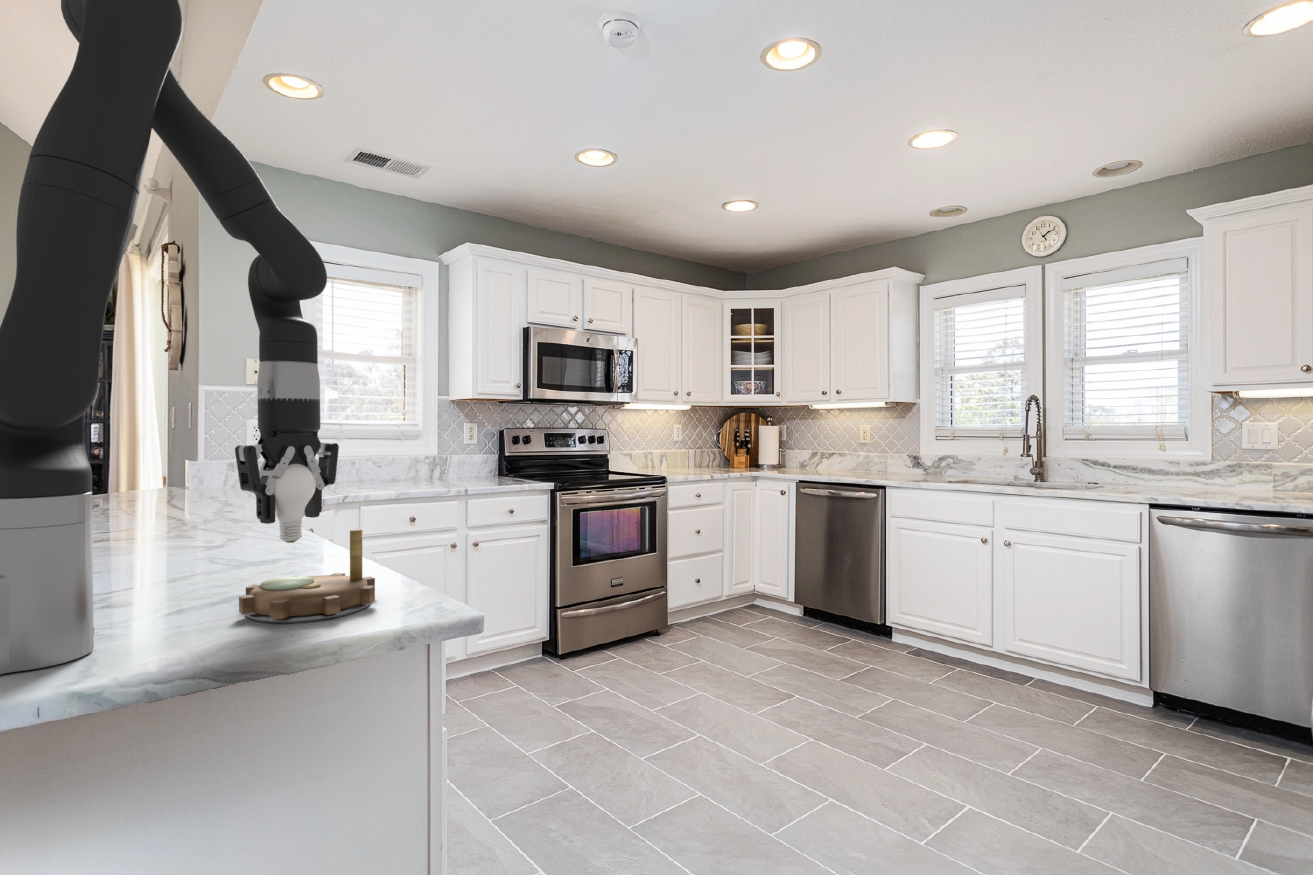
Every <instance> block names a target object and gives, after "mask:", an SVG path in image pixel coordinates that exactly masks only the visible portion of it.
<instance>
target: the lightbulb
mask: <svg viewBox="0 0 1313 875" xmlns="http://www.w3.org/2000/svg"><path fill="white" fill-rule="evenodd" d="M273 470H274V469H271V470H270V471H273ZM268 478H269V477H268ZM268 478H266V481H265V485H266V483H267V480H268ZM315 489H316V481H315V477H314V475H313V473H312V472H311V471H310V470H309V469H308V468H307V467H306V466H304V465H301V464H291V465H288V466H287V469H286V471H285V473H284V475H283V477H282V478H280V479H277V480H276V485H275V491H274V493H273V494H272V495H275V517H276V518H277V520H278V522H279V526H278V527H279V531H280V532H279V539H280V540H281V541H283V542H284V543H286V544H292V543H296V542H297V541H299V540H300V539H301V538H302V537H303V534H302V527H303V526H302V524H303V523H302V521H303V518H304V515H305V508H306V506H307V504H308V503H309V501H310V500H311V498H312V497H313V495H314V492H315Z"/></svg>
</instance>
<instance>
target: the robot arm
mask: <svg viewBox="0 0 1313 875" xmlns="http://www.w3.org/2000/svg"><path fill="white" fill-rule="evenodd" d="M60 10H61V13H62V18H63V20H64V23H65V24H66V27H67V28H68V30H69V32H70V33H71V34H72V36H73V37H74V38H75V40H76V41H77V43H78V49H77V53H76V56H75V57H76V58H75V61H74V62H73V66H72V69H71V71H70V73H69V76H68V78H67V80H66V81H65V83H64V85H63V86H62V88H61V90H60V92H59V94H58V95H57V97H56V99H55V100H54V102H53V103H52V105H51V108H50V109H49V112H48V113H47V115H46V116H45V119H44V121H43V122H42V124H41V127H40V129H39V131H38V132H37V133H38V134H37V135H36V137H35V140H34V141H33V142H34V143H33V145H32V147H31V150H30V153H29V156H28V161H27V165H26V169H25V173H24V177H23V180H22V184H21V188H20V195H19V199H18V200H19V201H18V206H17V216H16V234H15V235H16V237H15V238H16V240H15V241H16V272H15V278H14V280H15V281H14V284H13V289H12V292H11V296H10V299H9V302H8V305H7V307H6V310H5V313H4V316H3V318H2V322H1V324H0V675H4V674H8V673H13V672H23V671H30V670H36V669H42V668H48V667H52V666H56V665H59V664H60V665H61V664H64V663H67V662H71V661H74V660H76V659H80V658H81V657H84V656H86V655H88V654H90V653H91V652H92V651H94V648H95V646H94V645H95V644H94V643H95V642H94V640H95V638H94V637H95V636H94V635H95V627H94V626H95V625H94V565H93V564H94V562H93V561H94V560H93V559H94V558H93V557H94V556H93V553H94V551H93V542H94V541H93V471H92V470H93V469H92V466H91V464H90V462H89V459H88V454H87V450H86V449H87V448H86V436H85V434H86V433H85V413H86V412H87V411H88V410H89V409H90V407H91V406H92V404H93V403H94V401H95V400H96V397H97V393H98V388H99V381H100V380H99V379H100V369H101V367H100V365H101V356H102V355H101V354H102V345H103V344H102V343H103V334H104V326H105V317H106V312H107V307H108V304H109V303H108V302H109V299H110V295H111V293H112V289H113V287H114V284H115V281H116V280H117V279H116V278H117V275H118V273H119V270H120V267H121V264H122V262H123V261H122V260H123V257H124V254H125V250H126V247H127V244H128V240H129V237H130V233H131V230H132V227H133V223H134V219H135V215H136V210H137V206H138V202H139V198H140V197H139V196H140V193H141V186H142V181H143V179H142V178H143V175H144V171H145V164H146V162H147V156H148V151H149V146H150V140H151V135H152V130H153V131H154V133H155V134H156V135H157V136H158V138H160V140H161V141H162V142H163V143H164V145H165V146H166V148H167V149H168V150H169V151H170V153H171V154H172V155H173V157H175V159H176V160H177V162H178V163H179V165H180V166H181V168H183V170H184V171H185V173H186V174H187V176H188V177H189V179H190V180H191V182H192V183H193V185H194V186H195V187H196V189H197V190H198V192H199V193H200V195H201V196H202V198H203V199H204V201H205V202H206V204H207V205H208V207H209V208H210V210H211V212H212V213H213V215H214V216H215V218H216V219H217V220H218V222H219V223H220V225H221V226H222V228H223V229H224V230H225V231H226V232H227V234H228V235H229V236H231V238H233V239H235V240H239V241H243V242H246V243H248V244H250V245H251V246H252V248H253V249H254V250H255V251H256V252H257V254H258V255H257V256H255V258H253V260H252V261H251V263H250V266H249V269H248V274H247V275H248V276H247V286H248V288H247V289H248V294H249V298H250V302H251V306H252V310H253V315H254V318H255V321H256V325H257V327H258V332H259V336H258V338H259V339H258V352H259V353H258V358H259V359H258V360H259V361H258V362H259V365H258V372H257V387H256V388H257V391H256V392H257V428H258V431H259V433H260V436H259V439H258V442H257V443H256V444H250V445H248V444H247V445H245V444H244V445H242V444H241V445H239V444H238V445H237V446H235V448H234V453H235V459H236V460H235V462H236V466H237V473H238V480H239V481H238V482H239V487H240V489H241V490H242V491H245V492H249V493H253V494H254V495H255V497H256V499H255V501H256V504H255V506H256V508H255V509H256V512H255V515H256V518H257V520H259V522H260V523H261V524H267V525H269V524H274V523H275V522H276V512H275V495H272V494H273V493H274V491H275V485H276V480H277V479H280V478H282V477H283V475H284V473H285V471H286V469H287V466H288V465H291V464H301V465H304V466H306V467H307V468H308V469H309V470H310V471H311V472H312V473H313V475H314V477H315V481H316V489H315V492H314V495H313V497H312V498H311V500H310V501H309V503H308V504H307V506H306V508H305V512H304V515H305V517H306V518H313V519H314V518H318V517H320V513H321V512H322V511H323V495H322V494H323V490H324V488H326V487H328V486H329V485H331V486H332V485H334V484H335V483H336V477H337V468H338V459H339V458H338V457H339V449H340V446H339V443H337V442H321V440H320V438H319V435H318V432H319V431H320V430H321V379H320V373H319V365H318V358H319V356H318V353H319V352H318V350H319V349H318V347H319V346H318V344H319V343H318V332H317V331H318V330H317V328H316V326H315V325H314V324H312V322H310V321H307V320H305V319H304V317H303V312H302V308H301V301H305V300H310V299H313V298H316V297H318V296H319V295H321V293H323V292H324V290H325V288H326V286H327V283H328V272H327V269H326V264H325V262H324V260H323V258H322V257H321V254H319V251H318V250H317V249H316V248H315V246H314V245H313V244H312V243H311V241H310V240H309V239H308V238H307V237H306V236H305V235H304V234H303V233H302V231H301V230H299V228H297V226H296V225H295V224H294V223H293V221H291V219H289V218H288V217H287V216H286V215H285V214H284V213H283V212H282V211H281V210H280V208H279V207H278V205H277V204H276V202H275V201H274V198H272V195H271V193H270V192H269V190H268V189H267V187H266V186H265V184H264V182H263V180H262V179H261V177H260V176H259V174H258V173H257V171H256V169H255V168H254V166H253V165H252V164H251V162H250V161H249V159H248V158H247V156H246V155H244V153H243V152H242V151H241V150H240V149H239V147H238V146H237V145H236V144H235V143H234V142H233V141H232V140H231V139H230V138H229V137H227V136H226V134H224V133H223V131H222V130H221V129H220V128H218V127H217V126H216V125H215V124H214V123H213V122H212V121H210V119H209V118H208V117H207V116H206V115H205V114H204V113H203V112H202V111H201V110H200V108H198V106H196V104H195V103H194V102H193V101H192V99H191V98H190V97H189V96H188V95H187V93H186V92H185V90H184V89H183V88H182V85H180V82H178V80H177V78H176V76H175V75H174V73H173V70H172V69H171V67H170V65H171V63H172V61H173V58H174V56H175V53H176V51H177V48H178V46H179V45H180V41H181V38H182V35H183V30H184V20H183V19H184V18H183V12H182V7H181V5H180V0H60ZM260 455H261V456H260ZM316 455H318V462H317V460H316ZM261 457H262V458H263V462H262V464H261V466H260V468H259V460H260V458H261ZM271 469H274V470H273V471H270V470H271ZM268 477H269V478H268ZM266 478H268V480H267V483H266V485H265V481H266Z"/></svg>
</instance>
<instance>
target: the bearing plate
mask: <svg viewBox="0 0 1313 875" xmlns="http://www.w3.org/2000/svg"><path fill="white" fill-rule="evenodd" d="M371 604H372V602H371V603H370V604H364V603H360V604H357V605H355V606H352V607H349V608H345V609H341V610H340V613H336V614H330V615H326V614H324V613H319V614H311V615H299V616H288V617H286V618H284V619H270V615H262V614H258V613H255V612H254V613H248V614H245V616H246V618H247V619H249V620H250V621H253V622H257V623H265V624H277V625H278V624H284V625H285V624H286V625H287V624H301V623H302V624H304V623H312V622H313V623H315V622H320V621H327V620H332V619H338V618H342V617H347V616H349V615H352V614H356V613H358V612H361V611H364V610H365V609H367V608H369V606H371Z"/></svg>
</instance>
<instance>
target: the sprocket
mask: <svg viewBox="0 0 1313 875" xmlns="http://www.w3.org/2000/svg"><path fill="white" fill-rule="evenodd" d="M375 595H376V578H375V577H373V576H363V529H358V528H357V529H350V530H349V575H346V573H344V572H343V573H340V572H338V573H337V572H335V573H332V574H329V575H327V574H326V575H310V576H309V575H308V576H299V575H293V576H284V577H277V578H273V579H269V580H266V581H265V580H264V581H262V582H261V583H260V584H251V585H248V586H246V587H245V594H244V595H239V596H238V612H239V613H240V614H241V615H246V614H248V613H254V612H255V613H258V614H262V615H270V619H284V618H286V617H288V616H299V615H311V614H319V613H324V614H326V615H330V614H336V613H340V610H341V609H345V608H349V607H352V606H355V605H357V604H360V603H364V604H370V603H371V604H372V603H373V602H375V601H376V600H375V598H376V596H375ZM371 604H370V605H371Z"/></svg>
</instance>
